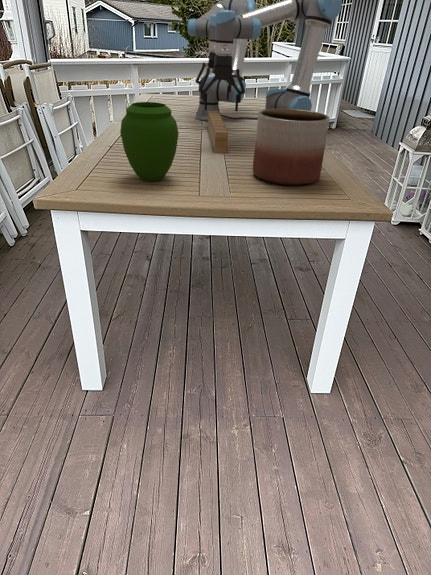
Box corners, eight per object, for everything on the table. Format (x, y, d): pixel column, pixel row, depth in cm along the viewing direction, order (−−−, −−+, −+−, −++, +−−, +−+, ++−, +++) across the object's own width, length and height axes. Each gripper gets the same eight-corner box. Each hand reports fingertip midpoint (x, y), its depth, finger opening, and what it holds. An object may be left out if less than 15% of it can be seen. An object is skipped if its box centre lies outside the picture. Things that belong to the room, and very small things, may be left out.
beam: (207, 127, 228) (208, 110, 223) (217, 128, 228) (218, 111, 223) (214, 152, 182) (215, 132, 177) (226, 152, 182) (228, 132, 178)
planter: (329, 187, 147) (342, 121, 135) (261, 187, 143) (268, 120, 131) (305, 166, 168) (314, 109, 156) (245, 167, 164) (250, 107, 152)
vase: (131, 189, 135) (125, 110, 122) (118, 172, 150) (112, 100, 137) (186, 184, 142) (187, 109, 129) (169, 168, 157) (167, 99, 144)
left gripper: (191, 51, 197) (190, 98, 208) (242, 53, 199) (239, 100, 211) (191, 50, 203) (190, 96, 215) (240, 52, 206) (237, 98, 217)
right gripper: (193, 54, 165) (193, 110, 176) (254, 57, 167) (250, 112, 178) (193, 53, 171) (192, 107, 182) (252, 56, 173) (247, 109, 184)
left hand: (214, 99), depth 213 cm, fingers open, 13 cm apart
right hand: (221, 110), depth 180 cm, fingers open, 13 cm apart
